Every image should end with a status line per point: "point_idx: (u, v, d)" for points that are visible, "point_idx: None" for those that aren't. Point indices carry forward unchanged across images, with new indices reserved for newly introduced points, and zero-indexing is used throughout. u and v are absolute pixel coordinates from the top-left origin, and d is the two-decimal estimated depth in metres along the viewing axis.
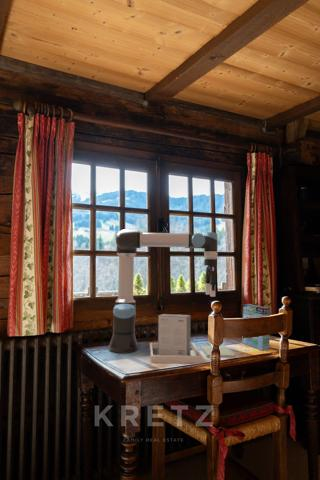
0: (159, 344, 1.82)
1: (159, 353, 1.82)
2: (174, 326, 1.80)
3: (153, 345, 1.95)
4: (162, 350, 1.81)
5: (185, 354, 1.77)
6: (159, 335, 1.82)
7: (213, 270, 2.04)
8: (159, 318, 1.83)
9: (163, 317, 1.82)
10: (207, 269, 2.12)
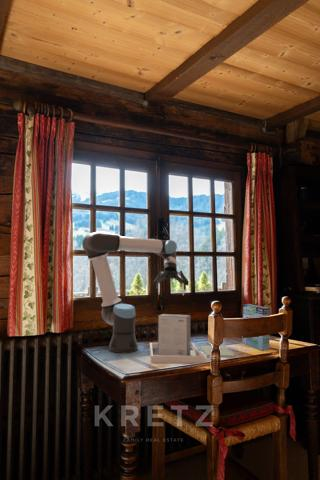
0: (159, 344, 1.82)
1: (159, 353, 1.82)
2: (174, 326, 1.80)
3: (153, 345, 1.95)
4: (162, 350, 1.81)
5: (185, 354, 1.77)
6: (159, 335, 1.82)
7: None
8: (159, 318, 1.83)
9: (163, 317, 1.82)
10: (169, 271, 2.11)
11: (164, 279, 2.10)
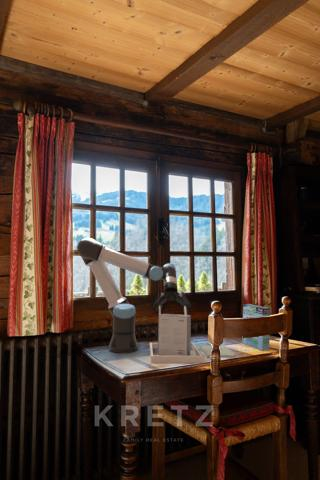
0: (159, 344, 1.82)
1: (159, 353, 1.82)
2: (175, 326, 1.80)
3: (153, 345, 1.95)
4: (162, 349, 1.81)
5: (185, 354, 1.77)
6: (159, 335, 1.82)
7: None
8: (160, 317, 1.83)
9: (163, 317, 1.82)
10: (170, 293, 1.99)
11: (165, 301, 1.97)
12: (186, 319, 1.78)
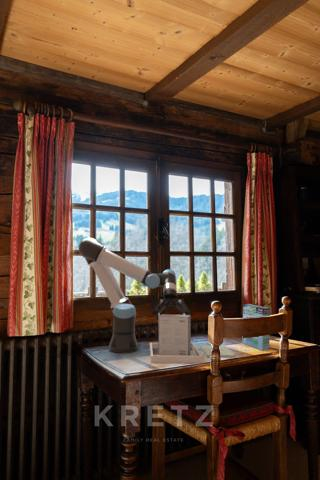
0: (160, 345, 1.80)
1: (160, 354, 1.80)
2: (175, 327, 1.79)
3: (153, 345, 1.95)
4: (163, 350, 1.80)
5: (186, 354, 1.76)
6: (160, 336, 1.80)
7: None
8: (160, 318, 1.81)
9: (164, 318, 1.80)
10: (169, 299, 1.96)
11: (164, 308, 1.94)
12: (187, 319, 1.78)
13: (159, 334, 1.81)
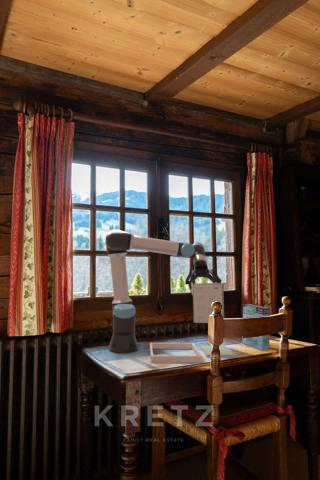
0: (194, 312, 1.86)
1: (195, 320, 1.86)
2: (210, 294, 1.85)
3: (153, 345, 1.95)
4: (198, 317, 1.86)
5: None
6: (194, 303, 1.87)
7: None
8: (194, 286, 1.87)
9: (198, 285, 1.86)
10: (200, 270, 2.02)
11: (196, 278, 2.00)
12: (221, 286, 1.83)
13: (194, 301, 1.87)
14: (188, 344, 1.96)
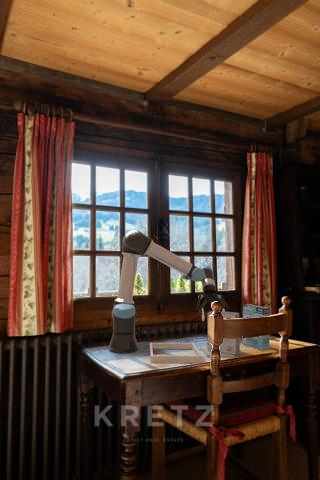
0: (208, 340, 1.88)
1: (209, 349, 1.88)
2: None
3: (153, 345, 1.95)
4: None
5: (234, 351, 1.81)
6: None
7: None
8: (208, 315, 1.88)
9: None
10: (209, 294, 2.03)
11: (205, 303, 2.02)
12: (234, 317, 1.82)
13: None
14: (188, 344, 1.96)
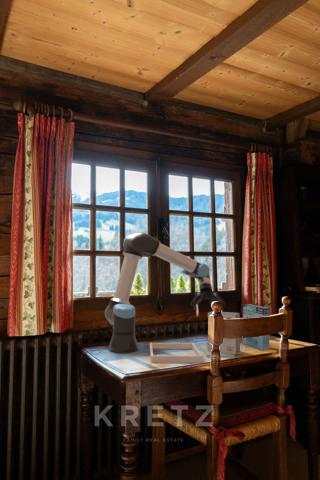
0: None
1: (209, 349, 1.88)
2: None
3: (153, 345, 1.95)
4: None
5: (234, 351, 1.81)
6: None
7: None
8: None
9: None
10: (205, 292, 2.16)
11: None
12: (234, 317, 1.82)
13: None
14: (188, 344, 1.96)
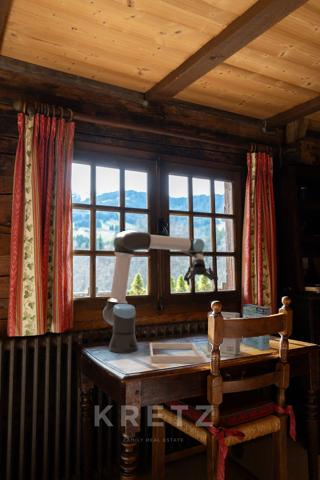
0: None
1: (209, 349, 1.88)
2: None
3: (153, 345, 1.95)
4: None
5: (234, 351, 1.81)
6: None
7: None
8: None
9: None
10: (198, 268, 2.18)
11: (194, 275, 2.17)
12: (234, 317, 1.82)
13: None
14: (188, 344, 1.96)
